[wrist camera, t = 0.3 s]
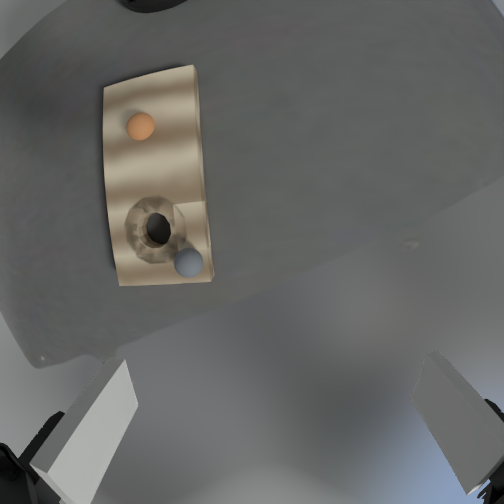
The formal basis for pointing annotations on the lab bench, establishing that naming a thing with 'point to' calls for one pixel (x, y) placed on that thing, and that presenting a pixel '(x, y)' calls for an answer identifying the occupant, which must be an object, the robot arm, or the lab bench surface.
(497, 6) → the lab bench surface
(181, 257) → the grey ball
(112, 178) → the board
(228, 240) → the lab bench surface
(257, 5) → the lab bench surface
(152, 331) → the lab bench surface
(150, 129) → the ball
